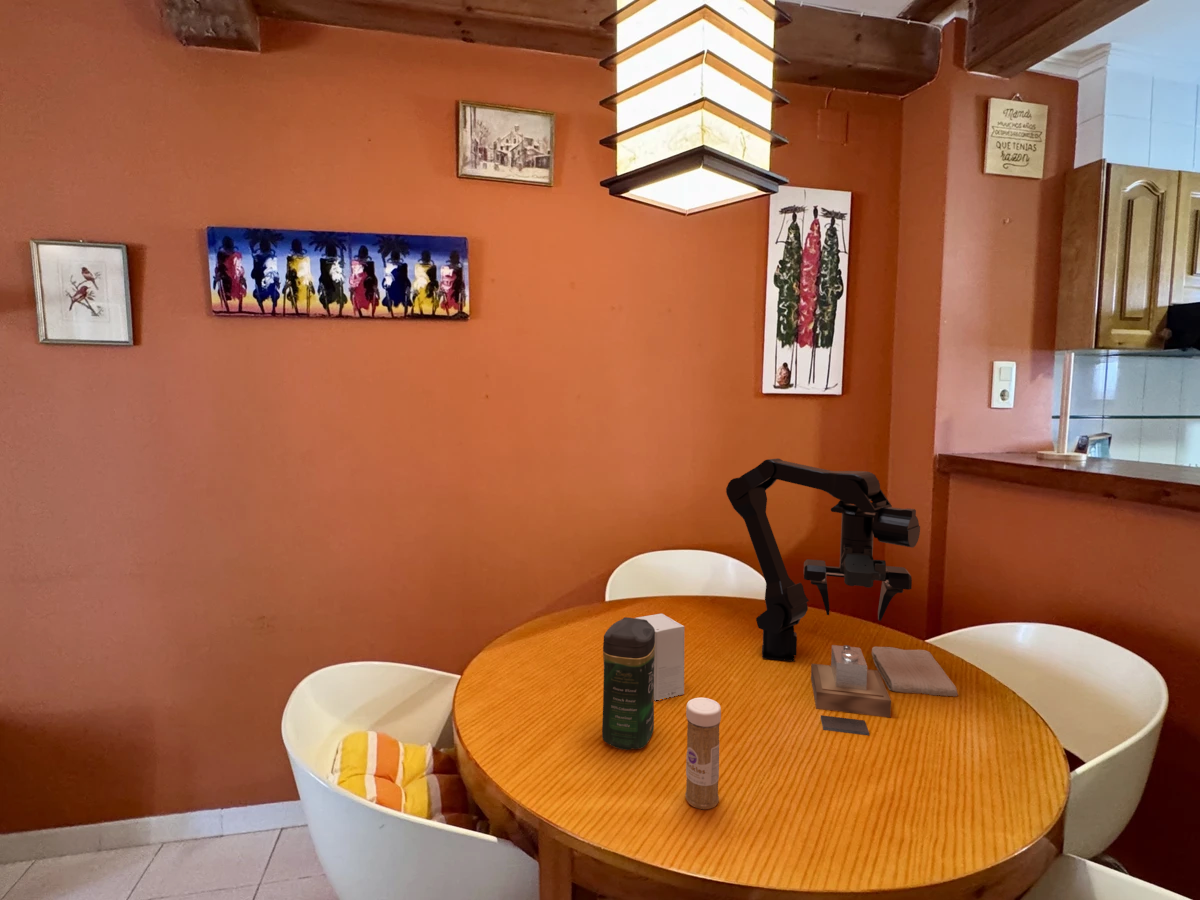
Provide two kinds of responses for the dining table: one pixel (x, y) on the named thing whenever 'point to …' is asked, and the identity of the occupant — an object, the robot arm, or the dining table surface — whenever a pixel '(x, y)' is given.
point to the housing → (848, 667)
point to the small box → (667, 656)
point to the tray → (850, 693)
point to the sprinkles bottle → (702, 752)
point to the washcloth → (912, 672)
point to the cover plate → (844, 725)
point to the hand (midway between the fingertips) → (853, 617)
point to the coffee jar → (628, 683)
